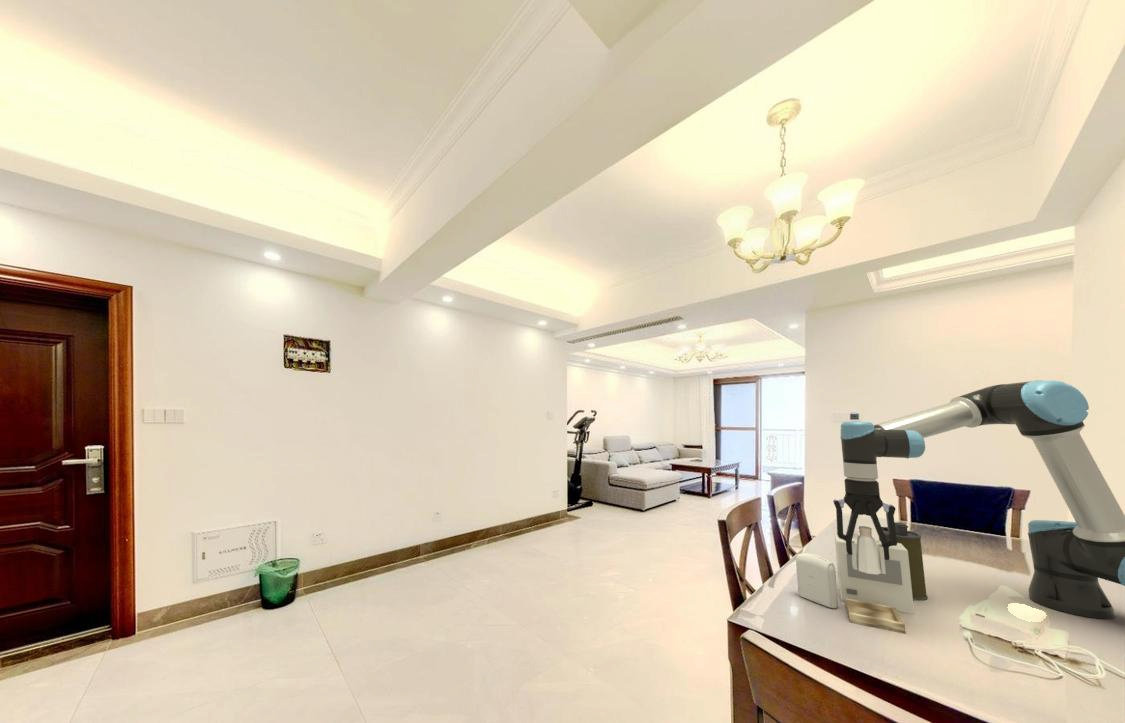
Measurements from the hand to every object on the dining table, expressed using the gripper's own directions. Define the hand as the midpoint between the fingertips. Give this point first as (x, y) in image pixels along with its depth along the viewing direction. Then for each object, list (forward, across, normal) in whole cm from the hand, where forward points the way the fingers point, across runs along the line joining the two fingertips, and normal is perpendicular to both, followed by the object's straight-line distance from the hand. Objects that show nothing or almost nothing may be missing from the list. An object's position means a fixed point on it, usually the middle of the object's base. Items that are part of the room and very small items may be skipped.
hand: (868, 569), depth 107 cm
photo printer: (+12, +12, -5) cm, 18 cm away
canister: (+12, -11, -26) cm, 31 cm away
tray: (+12, 0, 0) cm, 12 cm away
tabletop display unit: (+12, -2, -13) cm, 18 cm away
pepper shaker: (0, 0, 0) cm, 0 cm away
